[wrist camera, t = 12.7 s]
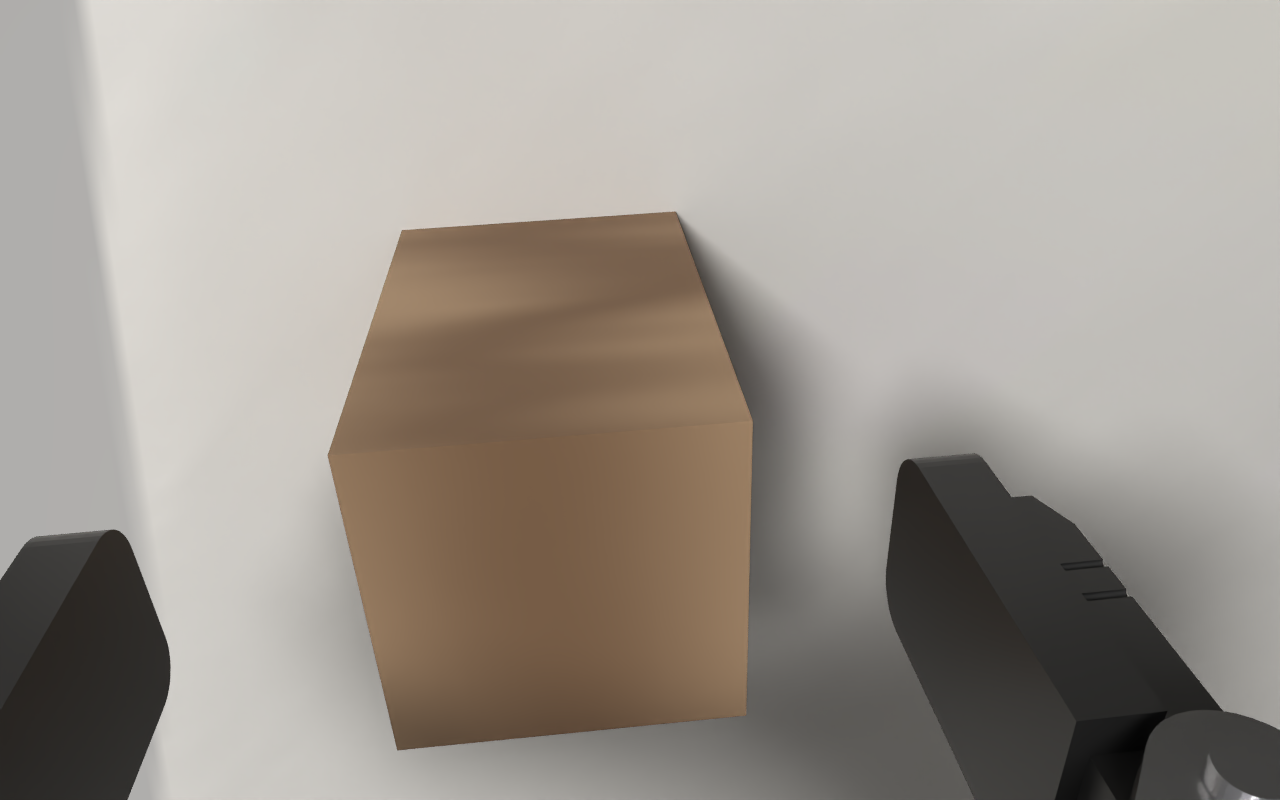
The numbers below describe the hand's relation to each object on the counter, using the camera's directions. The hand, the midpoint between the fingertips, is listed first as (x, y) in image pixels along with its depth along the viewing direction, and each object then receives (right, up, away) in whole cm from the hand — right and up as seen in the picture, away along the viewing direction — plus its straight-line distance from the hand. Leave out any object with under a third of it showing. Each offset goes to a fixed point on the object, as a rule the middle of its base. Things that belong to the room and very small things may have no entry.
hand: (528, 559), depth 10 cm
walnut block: (0, +3, +5) cm, 6 cm away
